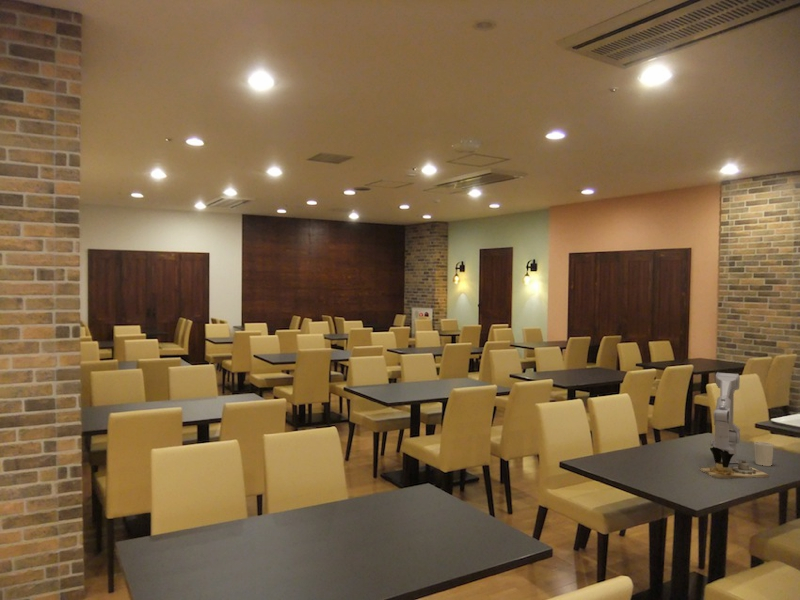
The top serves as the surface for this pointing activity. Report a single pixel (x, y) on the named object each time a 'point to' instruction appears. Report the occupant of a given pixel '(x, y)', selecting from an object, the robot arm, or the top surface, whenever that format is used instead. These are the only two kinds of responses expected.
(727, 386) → the robot arm
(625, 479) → the top surface
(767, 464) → the white cup
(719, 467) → the brass gear
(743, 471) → the gear board
